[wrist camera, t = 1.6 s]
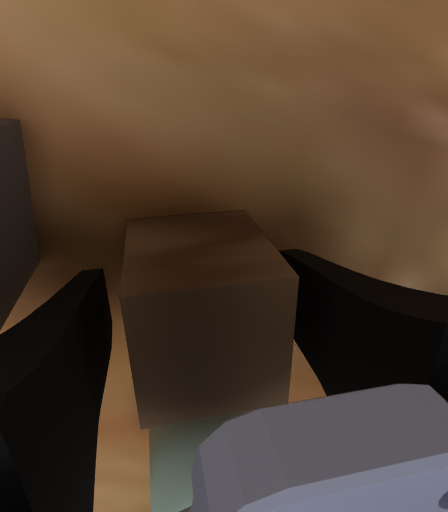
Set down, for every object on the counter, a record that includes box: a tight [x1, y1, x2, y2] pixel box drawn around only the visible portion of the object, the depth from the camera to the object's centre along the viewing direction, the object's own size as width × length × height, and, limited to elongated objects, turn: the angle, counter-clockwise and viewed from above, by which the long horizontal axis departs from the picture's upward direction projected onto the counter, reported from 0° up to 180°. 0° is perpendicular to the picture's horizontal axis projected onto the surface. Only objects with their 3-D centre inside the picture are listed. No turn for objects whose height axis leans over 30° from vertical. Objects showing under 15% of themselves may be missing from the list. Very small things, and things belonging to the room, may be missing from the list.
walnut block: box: [120, 210, 299, 429], centre depth 11 cm, size 4×4×5 cm
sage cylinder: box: [149, 410, 252, 512], centre depth 14 cm, size 4×4×5 cm
